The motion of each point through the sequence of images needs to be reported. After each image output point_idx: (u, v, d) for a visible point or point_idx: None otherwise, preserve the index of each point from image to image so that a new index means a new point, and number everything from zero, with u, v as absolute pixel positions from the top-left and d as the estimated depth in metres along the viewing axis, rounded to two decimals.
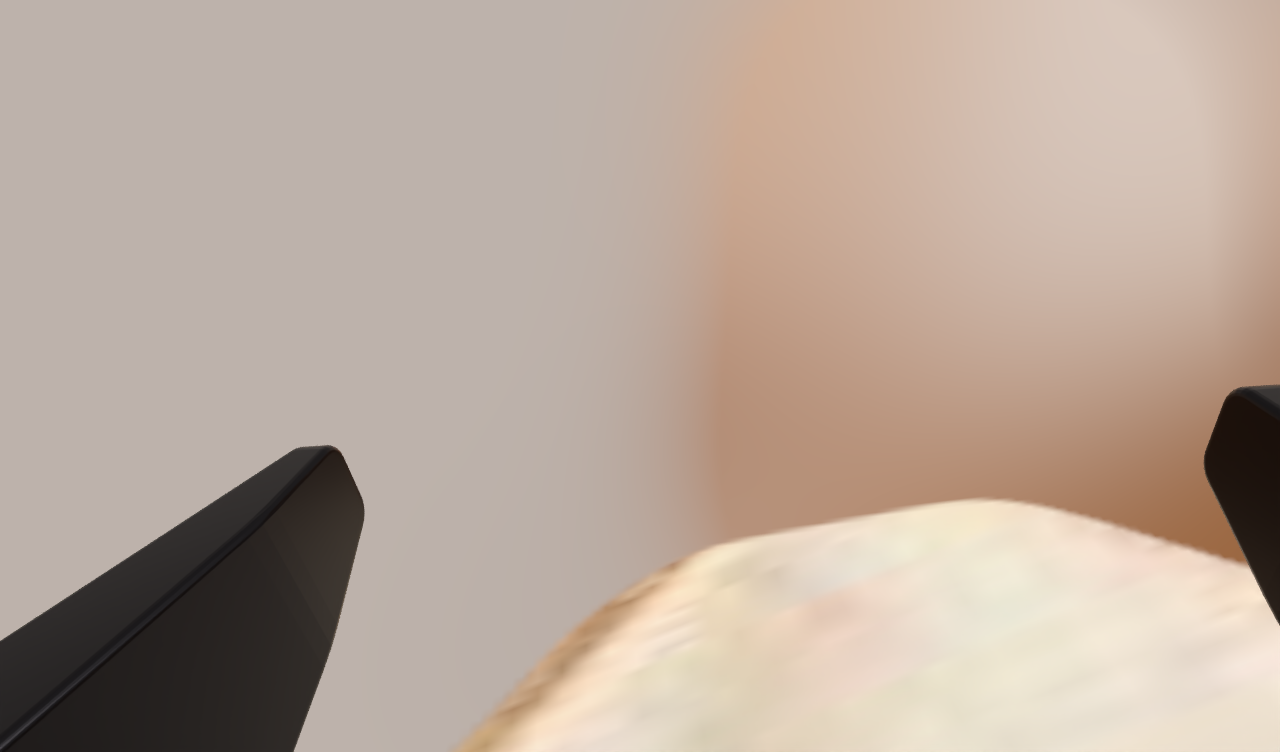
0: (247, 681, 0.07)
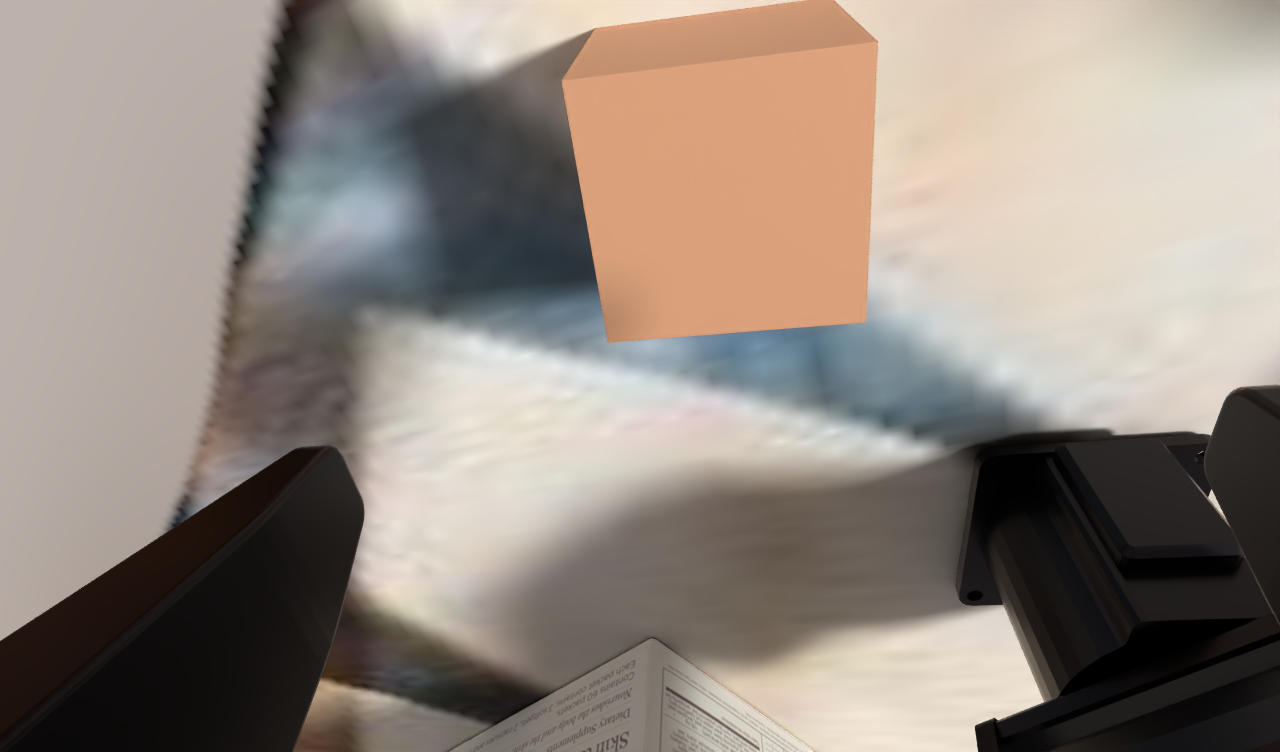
0: (247, 681, 0.07)
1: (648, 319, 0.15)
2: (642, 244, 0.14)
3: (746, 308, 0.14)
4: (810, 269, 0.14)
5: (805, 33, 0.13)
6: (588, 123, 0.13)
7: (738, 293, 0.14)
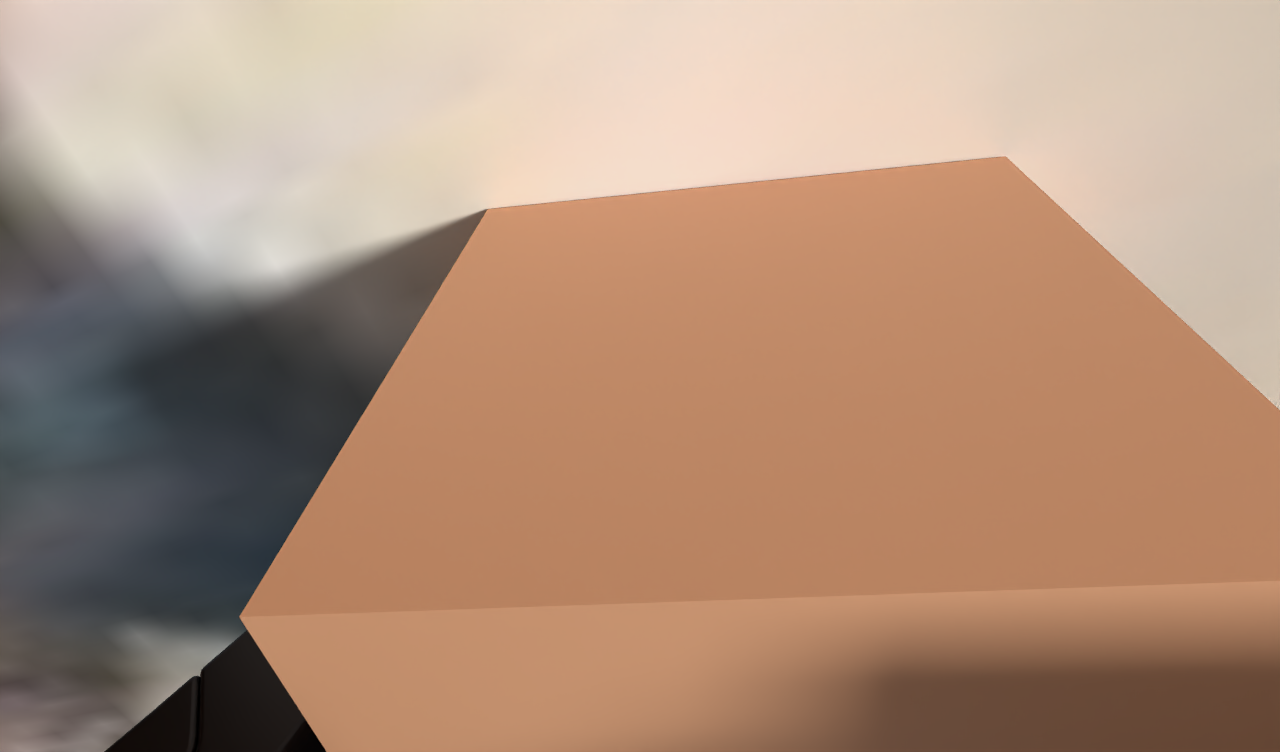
0: None
1: None
2: None
3: None
4: None
5: (1054, 386, 0.04)
6: (359, 706, 0.04)
7: None
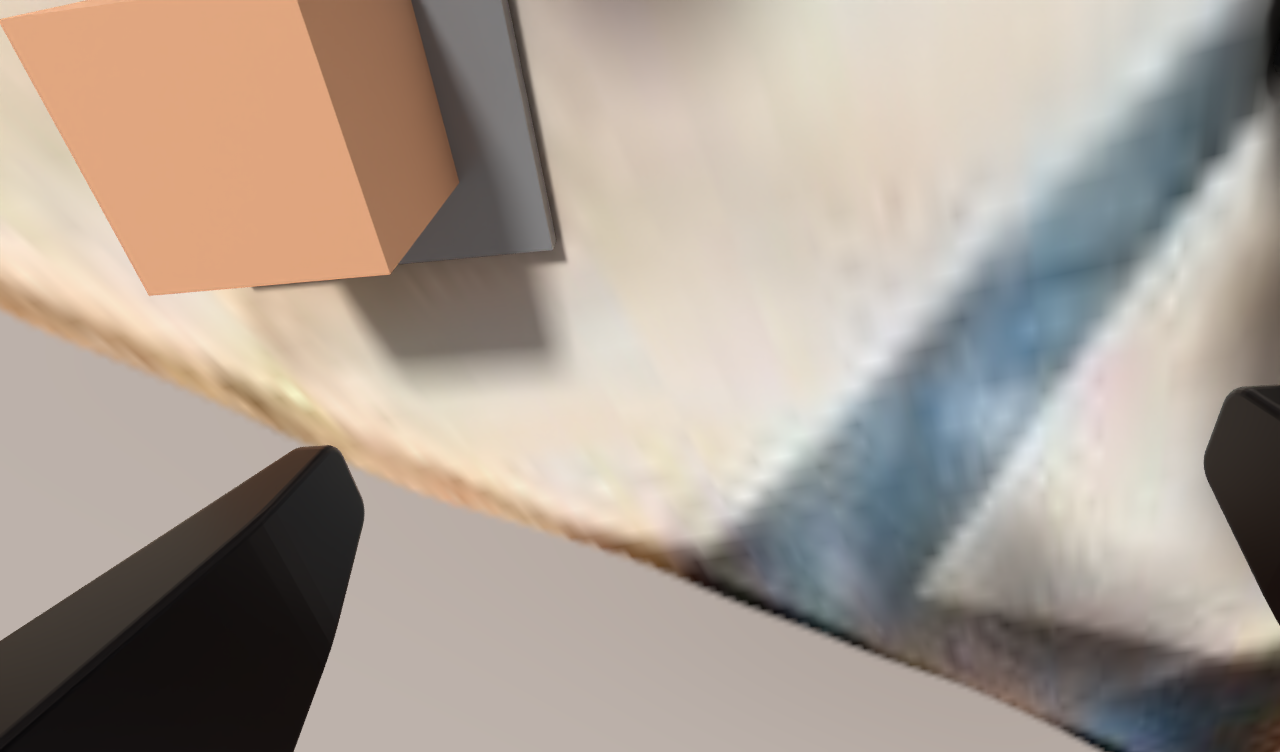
0: (247, 681, 0.07)
1: (179, 271, 0.14)
2: (142, 192, 0.14)
3: (269, 259, 0.14)
4: (315, 219, 0.14)
5: None
6: (41, 64, 0.12)
7: (255, 244, 0.14)
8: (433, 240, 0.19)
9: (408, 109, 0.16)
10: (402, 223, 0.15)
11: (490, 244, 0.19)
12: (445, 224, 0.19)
